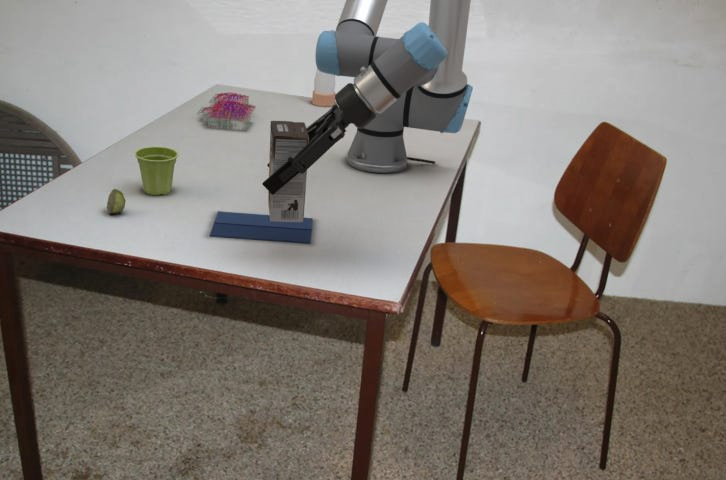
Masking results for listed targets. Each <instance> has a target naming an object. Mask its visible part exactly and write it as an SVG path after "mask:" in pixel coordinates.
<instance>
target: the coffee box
mask: <svg viewBox="0 0 726 480" xmlns="http://www.w3.org/2000/svg"><path fill="white" fill-rule="evenodd" d="M306 128H307V125H306V122H304V121H303V122H302V121H289V120H270V135H269V161H268V163H269V167H268V178H269V177H270V176H271V175H272V174H273V173H275V172H276V171H277V170H278V169H279V168H280V167H282V166H283V165H284V164H285V163H286V162H287V161H288V157H292V159H293V158H294V157H295V156H296V155H297V154H298V153H299V152H300V151H301V150H302V149H303V148H304V147H305V146H306V145H307V144H308V143H309V135H308V132H307V129H306ZM300 162H301V161H300ZM301 163H302V162H301ZM302 164H303V163H302ZM307 175H308V169H307V170H306V172H305V173H303V174H302V173H301V172H300V173H298V174H297V175H296V176H295V177H294V178H292V179H291V180H290V181H289V182H288V183H286V184H285V185H284V186H283V187H282V188H280V189H279V190H278V191H277V192H276V193H275V194H273V195H272V194H271V193H270V192H269V191H268V190H267V191H268V195H267V199H268V200H267V205H268V206H267V207H268V211H269V212H268V213H269V214H268V215H270V221H274V222H303V221H304V218H305V206H306V193H307V192H306V190H307Z"/></svg>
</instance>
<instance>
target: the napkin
mask: <svg viewBox="0 0 726 480" xmlns="http://www.w3.org/2000/svg"><path fill="white" fill-rule="evenodd" d="M312 227H313V218H312V217H304V221H303V222H274V221H270V215H269V214H258V213H244V212H233V211H220V210H219V211H217V214H216V216H215V219H214V222H213V226H212V228H211V230H210V233H209V237H213V238H227V239H228V238H229V239H242V240H257V241H268V242H270V241H271V242H282V243H294V244H295V243H296V244H311V237H312V229H313V228H312Z"/></svg>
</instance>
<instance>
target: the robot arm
mask: <svg viewBox="0 0 726 480" xmlns="http://www.w3.org/2000/svg"><path fill="white" fill-rule="evenodd" d="M388 1H389V0H345V2H344V5H343V7H342V10H341V14H340V17H339V18H338V22H337V25H336V27H335V30H333V29H331V30H323V31H322V32H321V33H319V35H318V37H317V41H316V46H315V57H314V58H315V59H314V60H315V66H316V69H317V68H318V70H319V71H320V72H323V73H327V74H332V75H335V76H337V77H348V78H353V83H352V82H350V83H347V84H346V85H344V86H343V87H342V88H341V89H340V90H339V91H338V92H336V95H335V103H336V104H335V105H333V106H331V108H330V109H328V111H326V112H324V114H323V115H321V116H320V117H318V118H317V119H316V120H314V121H313V123H311V124H309V125H308V126H306V129H307V132H308V135H309V143H308V144H307V145H306V146H305V147H304V148H303V149H302V150H301V151H300V152H299V153H298V154H297V155H296V156H295V157H294V158H293V159H292V157H288V161H287V162H286V163H285V164H284V165H283V166H282V167H280V168H279V169H278V170H277V171H276V172H275V173H273V174H272V175H271V176H270V177H269V176H268V178H266V179H265V180H264V181H263V182H262V183H261V185H262V186H263V187H264V188H265V189H266V190H267V191H269V192H270V193H271V194H272V195H273V194H275V193H276V192H277V191H278V190H279V189H280V188H282V187H283V186H284V185H285V184H286V183H288V182H289V181H290V180H291V179H292V178H294V177H295V176H296V175H297V174H298V173H300V172H301V173H302V174H303V173H305V172H306V170H307V171H308V170H309V169H310V168H311V167H312V166H313V165H314V164H315V163H316V162H317V161H318V160H319V159H320V158H322V157H323V155H324V154H326V153H327V152H328V151H329V150H330V149H331V148H333V146H334V145H335V144H336V143H338V142H339V141H341V139H343V138H344V137H345V136H346V132H347V130H346V129H347V128H348V127H349V125H351V124H352V125H354V127H356V133H355V135H354V138H353V140H352V142H351V145H350V147H349V149H348V151H347V155H346V163H347V164H348V165H349V166H350V167H352V168H353V169H354V168H355V169H356V170H360V171H363V172H367V173H374V174H392V173H398V172H402V171H404V170H406V169H407V166H408V161H412V162H413V161H414V162H420V163H425V164H426V163H427V164H431V165H435V164H436V161H434V160H431V159H430V160H429V159H423V158H417V157H410V156H408V155H407V150H406V145H405V139H404V130H405V128H410V129H417V130H424V131H431V132H439V133H440V134H443V133H445V134H446V133H447V134H456V133H459V132H460V131H461V130H462V128H463V124H464V120H465V117H466V114H467V110H468V106H469V103H470V99H471V97H472V93H473V89H474V87H473V86H472V85H470V83H468V77H467V75H466V73H465V72H464V71H463V65H464V57H465V50H466V41H467V33H468V25H469V19H470V17H469V16H470V9H471V0H430V2H429V3H430V6H429V14H428V15H429V17H428V24H427V23H426V22H424V21H423V22H421V21H420V22H418V23H416V24H415V25H414V26H413V27H412V28H410V29H409V30H407V31H405V32H404V33H403V35H402V36H401V37H400V38H395V37H393V38H392V37H386V36H385V37H384V36H377V35H378V31H379V28H380V24H381V22H382V19H383V16H384V13H385V10H386V7H387V4H388ZM300 161H301V162H302V163H303V164H302V163H301V162H300ZM266 166H267V167H268V168H269V162H268V163H267V164H266Z"/></svg>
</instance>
